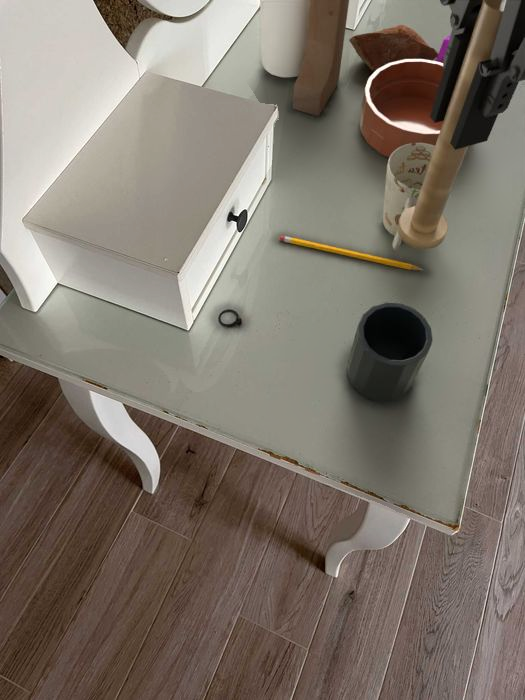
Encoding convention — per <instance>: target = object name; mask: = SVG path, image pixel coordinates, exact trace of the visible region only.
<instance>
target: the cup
mask: <svg viewBox="0 0 525 700" xmlns="http://www.w3.org/2000/svg"><path fill="white" fill-rule="evenodd" d="M259 5H260V6H259V7H260V8H259V25H260V27H259V28H260V29H259V31H260V33H259V34H260V52H261V65H262V67H263V68H264V69H265V71H266V72H268V73H269V74H271V75H272V76H276V77H280V78H294V77H298V76H299V74H300V73H301V69H302V66H303V63H304V59H305V54H306V47H307V39H308V25H309V12H310V0H260V4H259Z"/></svg>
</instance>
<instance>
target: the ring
mask: <svg viewBox="0 0 525 700" xmlns="http://www.w3.org/2000/svg"><path fill="white" fill-rule="evenodd" d="M226 312H227V313H228V312H231V313H233V314H235V316H236V317H235V320H234V321H233V322H231V323H224V322H223V321H222V319H221V317H222V315H223V314H224V313H226ZM218 322H219V324H220V325H221V326H223V327H226V328H229V327H230V328H231V327H233V326H235V325H238V326H241V325H242V323H243V320H242V318H241V317H239V313H238V312H237V311H236V310H235V309H231V308H230V309H225V310H222V311H221V312H220V313H219V315H218Z"/></svg>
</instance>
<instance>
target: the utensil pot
mask: <svg viewBox="0 0 525 700" xmlns="http://www.w3.org/2000/svg"><path fill="white" fill-rule="evenodd" d="M432 343H433V333H432V327H431V325H430V324H429V322H428V321H427V319H426V317H425V316H424V315H423V314H422V313H420V312H419V311H418V310H417V309H415V308H414V307H412V306H409V305H407V304H404V303H401V302H392V301H391V302H390V301H389V302H388V301H387V302H382V303H379V304H376V305H372V306H371V307H370V308H369V309H368V310H366V311H365V312H364V313H362V315H361V317H360V320H359V322H358V324H357V327H356V331H355V335H354V338H353V342H352V345H351V349H350V351H349V352H350V353H349V355H348V360H347V364H346V365H347V366H346V376H347V379H348V381H349V384H350V385H351V387H352V388H353V390H354V391H356V393H358V394H359V395H360V396H361V397H363V398H365V399H367V400H369V401H372V402H375V403H389V402H393V401H394V402H395V401H396V400H398V399H401V398H402V397H403V396H404V395H405V394H407V392H408V391H409V390H410V388H411V387H412V385H413V383H414V381H415V379H416V377H417V376H418V373H419V371H420V369H421V367H422V366H423V363H424V361H425V359H426V357H427V355H428V353H429V351H430V349H431V346H432Z"/></svg>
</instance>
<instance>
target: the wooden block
mask: <svg viewBox="0 0 525 700" xmlns="http://www.w3.org/2000/svg"><path fill="white" fill-rule="evenodd" d="M349 4H350V0H310V12H309V25H308V39H307V47H306V54H305V59H304V63H303V66H302V69H301V73H300V74H299V75H298V76H297V79H296V81H295V83H294V85H293V86H294V87H293V100H292V101H293V103H292V105H293V106H292V109H293V110H296V111H299V112H301V113H306V114H310V115H313V116H316V117H319V116H320V115H321V114H322V112H323V110H324V108H325V106H326V105H327V103H328V101H329V100H330V98H331V97H332V94H333V93H334V91H335V90H336V88H337V86H338V84H339V82H340V81H339V80H340V72H341V66H342V58H343V52H344V51H343V50H344V44H345V43H344V42H345V36H346V27H347V21H348V13H349V12H348V11H349Z"/></svg>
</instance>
